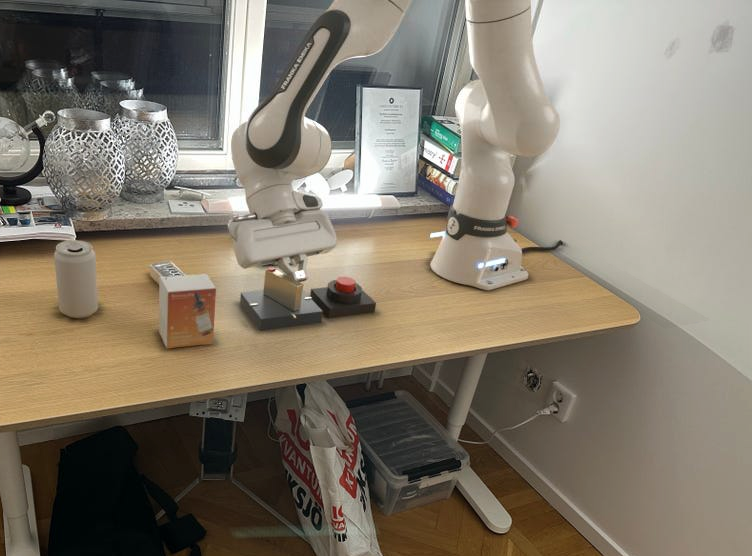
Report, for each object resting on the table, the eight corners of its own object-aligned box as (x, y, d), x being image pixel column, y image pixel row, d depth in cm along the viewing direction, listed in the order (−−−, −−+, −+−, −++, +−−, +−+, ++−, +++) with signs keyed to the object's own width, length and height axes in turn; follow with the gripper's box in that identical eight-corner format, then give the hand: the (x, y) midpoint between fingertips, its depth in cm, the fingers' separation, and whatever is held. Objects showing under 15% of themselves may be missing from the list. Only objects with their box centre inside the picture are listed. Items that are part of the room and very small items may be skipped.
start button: (348, 283, 126) (349, 275, 125) (357, 292, 124) (359, 284, 123) (331, 285, 125) (333, 277, 124) (340, 294, 122) (342, 285, 121)
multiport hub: (174, 299, 120) (174, 288, 119) (149, 274, 127) (149, 263, 126) (195, 295, 123) (196, 284, 121) (170, 271, 130) (170, 260, 128)
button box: (354, 293, 131) (357, 275, 129) (374, 313, 125) (378, 294, 123) (309, 298, 127) (312, 280, 125) (328, 319, 121) (331, 300, 119)
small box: (166, 350, 106) (166, 292, 100) (158, 332, 110) (158, 275, 105) (214, 344, 109) (217, 287, 104) (204, 327, 113) (207, 272, 108)
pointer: (300, 309, 118) (303, 283, 115) (294, 311, 117) (297, 285, 114) (269, 291, 122) (271, 266, 119) (263, 293, 121) (265, 268, 118)
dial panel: (296, 294, 128) (297, 282, 126) (324, 326, 119) (326, 313, 117) (237, 301, 123) (238, 288, 121) (262, 334, 114) (263, 321, 112)
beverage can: (63, 322, 109) (57, 256, 103) (56, 304, 114) (50, 240, 107) (102, 317, 112) (98, 252, 106) (93, 300, 117) (90, 237, 110)
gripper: (231, 209, 111) (258, 286, 110) (327, 196, 121) (352, 266, 121) (217, 225, 116) (242, 298, 115) (310, 211, 127) (334, 277, 126)
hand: (299, 281), depth 118 cm, fingers closed
